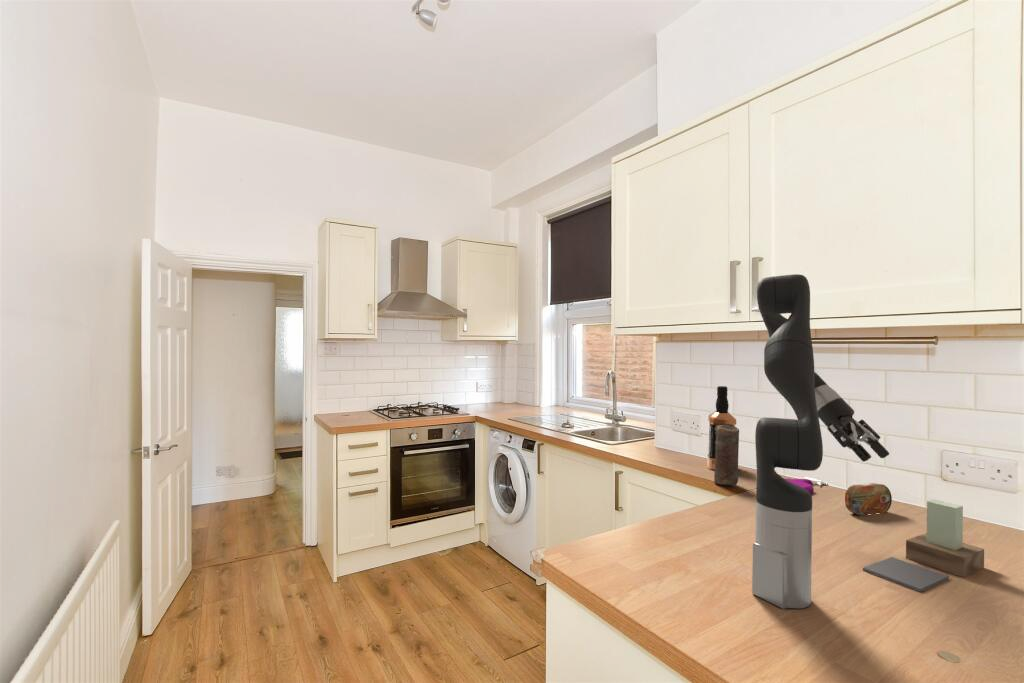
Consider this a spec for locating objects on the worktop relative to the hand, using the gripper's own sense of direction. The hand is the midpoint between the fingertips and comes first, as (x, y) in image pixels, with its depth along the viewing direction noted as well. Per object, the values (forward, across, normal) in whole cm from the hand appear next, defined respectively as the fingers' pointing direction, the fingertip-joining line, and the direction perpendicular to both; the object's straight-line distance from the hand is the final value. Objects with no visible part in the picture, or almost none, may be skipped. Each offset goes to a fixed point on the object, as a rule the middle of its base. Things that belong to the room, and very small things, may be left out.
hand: (877, 458), depth 118 cm
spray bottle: (-10, +28, +40) cm, 50 cm away
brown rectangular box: (+24, 0, +5) cm, 24 cm away
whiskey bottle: (-32, +27, +61) cm, 74 cm away
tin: (+6, +21, +23) cm, 32 cm away
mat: (+23, -15, +6) cm, 28 cm away
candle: (-20, +8, +49) cm, 54 cm away
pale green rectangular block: (+21, 0, +2) cm, 21 cm away
